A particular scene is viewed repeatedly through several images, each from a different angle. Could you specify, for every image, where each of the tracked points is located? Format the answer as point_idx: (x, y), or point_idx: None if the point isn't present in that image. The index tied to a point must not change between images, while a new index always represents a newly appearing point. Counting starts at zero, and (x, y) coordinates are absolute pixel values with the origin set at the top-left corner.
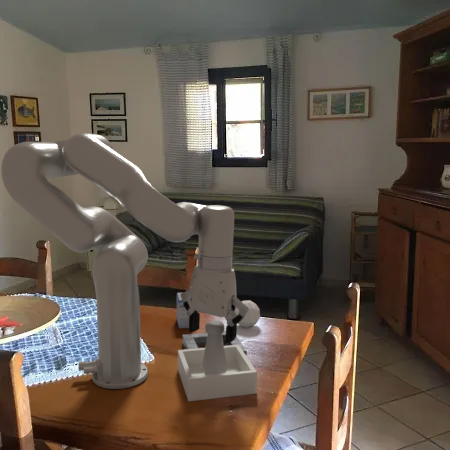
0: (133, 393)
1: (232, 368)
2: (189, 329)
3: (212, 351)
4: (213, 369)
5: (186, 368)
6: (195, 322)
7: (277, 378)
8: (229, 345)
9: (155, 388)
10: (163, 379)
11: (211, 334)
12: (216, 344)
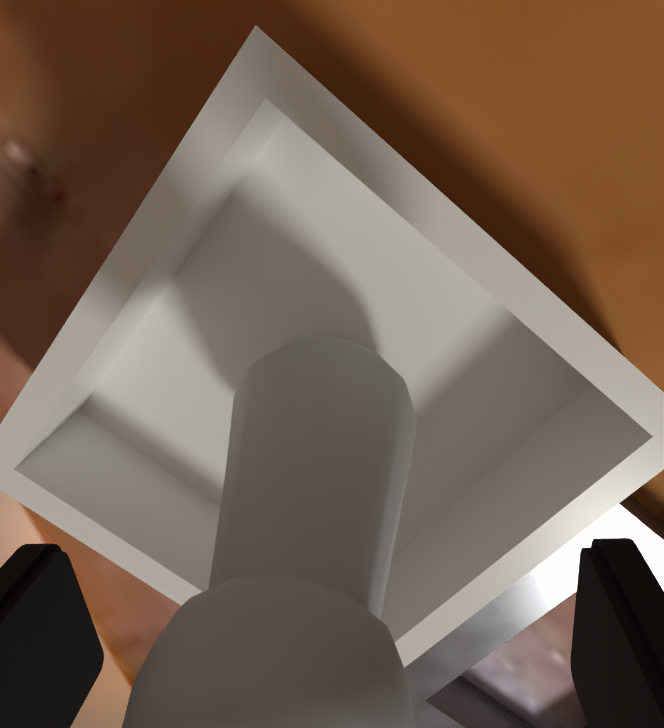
0: None
1: None
2: (642, 563)
3: (269, 450)
4: (269, 364)
5: (414, 195)
6: (625, 725)
7: (98, 577)
8: (504, 725)
9: (617, 47)
10: (643, 197)
11: (240, 579)
12: (230, 520)
